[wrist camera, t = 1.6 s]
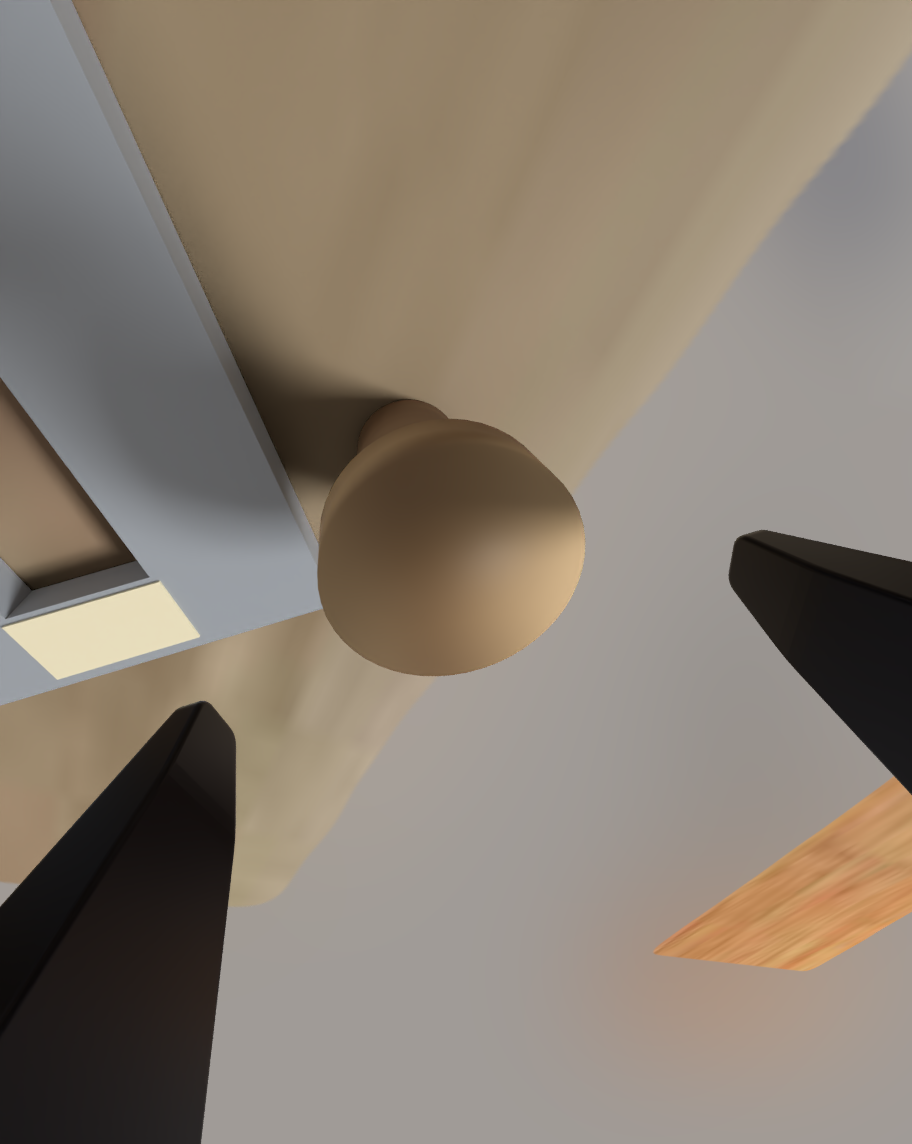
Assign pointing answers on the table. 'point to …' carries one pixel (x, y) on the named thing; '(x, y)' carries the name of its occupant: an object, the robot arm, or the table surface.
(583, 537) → the peg
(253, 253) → the table surface
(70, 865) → the robot arm
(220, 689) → the table surface
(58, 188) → the keyhole board
